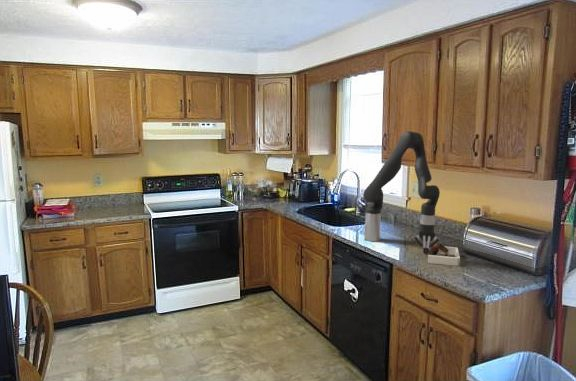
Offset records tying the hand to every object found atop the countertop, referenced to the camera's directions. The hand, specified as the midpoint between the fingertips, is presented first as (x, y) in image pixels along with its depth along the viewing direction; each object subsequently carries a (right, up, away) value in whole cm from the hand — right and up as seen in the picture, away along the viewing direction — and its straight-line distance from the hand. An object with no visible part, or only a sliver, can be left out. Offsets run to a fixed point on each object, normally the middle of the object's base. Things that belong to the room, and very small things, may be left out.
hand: (425, 254), depth 215 cm
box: (+8, -2, -2) cm, 8 cm away
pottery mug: (+6, -2, +1) cm, 6 cm away
